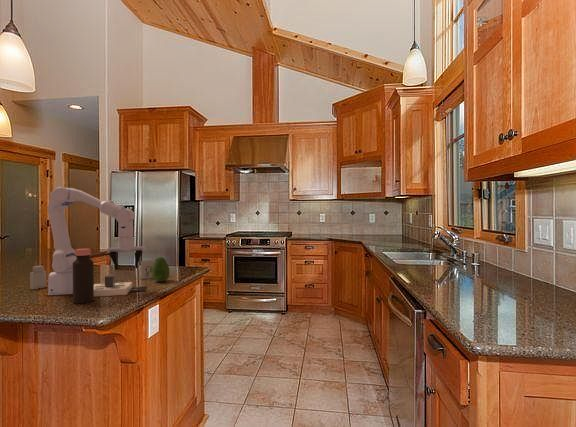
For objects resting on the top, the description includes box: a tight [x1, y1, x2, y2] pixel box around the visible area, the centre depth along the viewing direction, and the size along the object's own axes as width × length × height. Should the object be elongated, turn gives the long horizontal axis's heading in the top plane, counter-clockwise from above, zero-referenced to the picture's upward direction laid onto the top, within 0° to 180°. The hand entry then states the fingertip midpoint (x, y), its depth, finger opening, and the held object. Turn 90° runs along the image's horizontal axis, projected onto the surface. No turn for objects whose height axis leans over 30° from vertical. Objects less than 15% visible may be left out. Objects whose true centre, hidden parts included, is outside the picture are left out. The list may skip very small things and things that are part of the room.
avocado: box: [152, 256, 171, 283], centre depth 158 cm, size 8×8×12 cm
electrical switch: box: [140, 259, 156, 280], centre depth 167 cm, size 9×5×9 cm, turn 116°
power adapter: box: [29, 260, 47, 290], centre depth 145 cm, size 3×5×12 cm, turn 162°
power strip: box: [94, 281, 148, 298], centre depth 139 cm, size 22×12×3 cm, turn 105°
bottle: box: [72, 247, 95, 305], centre depth 124 cm, size 7×7×20 cm
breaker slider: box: [104, 274, 116, 287], centre depth 138 cm, size 3×4×4 cm
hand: (126, 268), depth 140 cm, fingers open, 7 cm apart
